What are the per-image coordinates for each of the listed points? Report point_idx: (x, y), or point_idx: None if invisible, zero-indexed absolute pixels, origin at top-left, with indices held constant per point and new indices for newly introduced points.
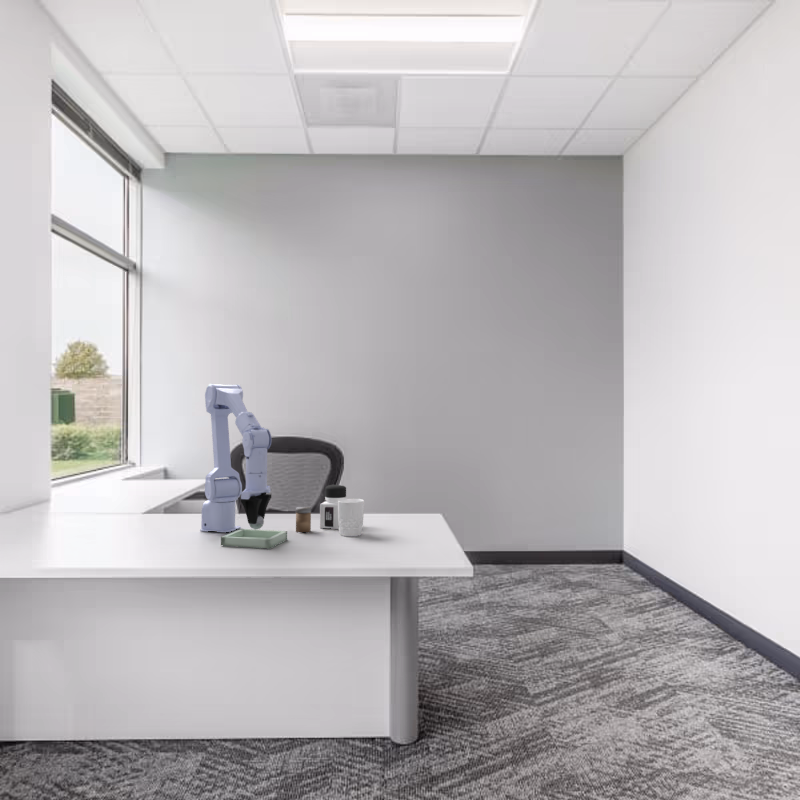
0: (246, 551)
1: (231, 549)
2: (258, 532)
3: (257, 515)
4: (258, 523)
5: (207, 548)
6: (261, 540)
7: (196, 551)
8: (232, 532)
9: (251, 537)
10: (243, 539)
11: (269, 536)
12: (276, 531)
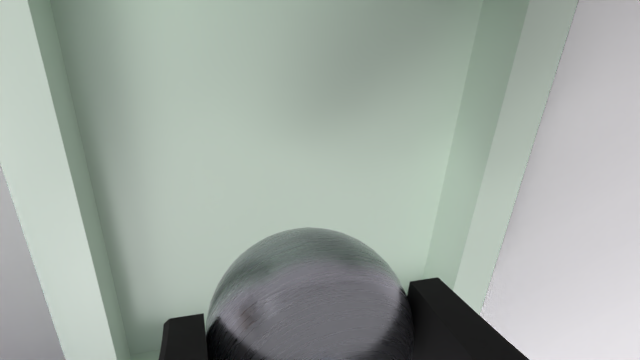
0: (609, 74)
1: (533, 206)
2: (102, 274)
3: (486, 357)
4: (386, 267)
5: (501, 332)
6: (562, 27)
7: (573, 332)
8: None
9: (158, 277)
10: (507, 207)
11: (78, 136)
12: (40, 80)
